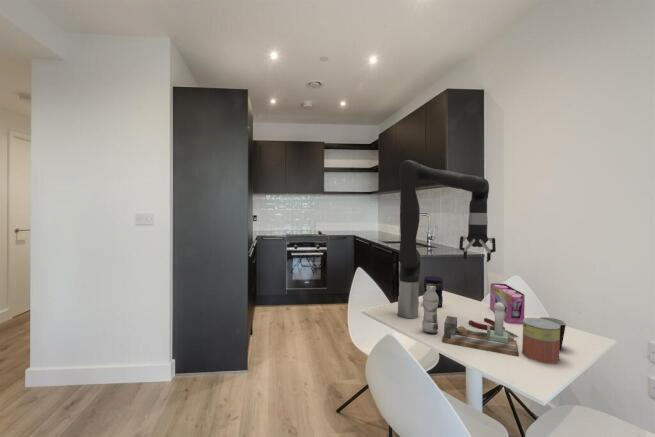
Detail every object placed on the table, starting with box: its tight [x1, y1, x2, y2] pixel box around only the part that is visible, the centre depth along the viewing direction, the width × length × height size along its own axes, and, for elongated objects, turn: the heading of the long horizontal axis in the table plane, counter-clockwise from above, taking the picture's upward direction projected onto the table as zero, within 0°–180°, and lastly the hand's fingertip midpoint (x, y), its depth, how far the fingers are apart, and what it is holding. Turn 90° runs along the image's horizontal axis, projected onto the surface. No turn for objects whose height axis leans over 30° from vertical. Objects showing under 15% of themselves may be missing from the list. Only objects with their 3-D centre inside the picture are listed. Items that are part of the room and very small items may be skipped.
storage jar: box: [423, 275, 444, 309], centre depth 177 cm, size 10×10×15 cm
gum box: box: [489, 282, 526, 325], centre depth 161 cm, size 24×8×14 cm, turn 172°
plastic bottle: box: [421, 284, 439, 334], centre depth 139 cm, size 6×7×20 cm
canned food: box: [521, 317, 561, 365], centre depth 117 cm, size 11×11×12 cm
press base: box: [441, 315, 519, 357], centre depth 128 cm, size 26×12×8 cm, turn 63°
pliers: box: [468, 317, 519, 338], centre depth 142 cm, size 12×20×3 cm, turn 22°
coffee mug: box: [539, 316, 567, 351], centre depth 127 cm, size 12×9×10 cm
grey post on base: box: [486, 302, 508, 344], centre depth 125 cm, size 7×7×15 cm
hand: (476, 260), depth 141 cm, fingers open, 8 cm apart
